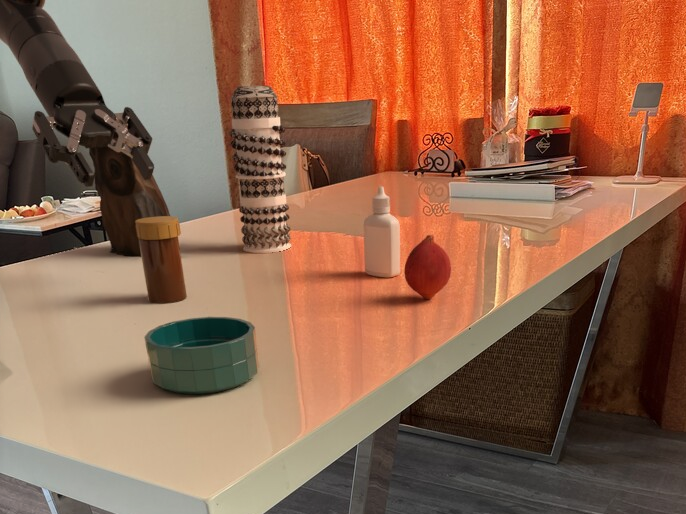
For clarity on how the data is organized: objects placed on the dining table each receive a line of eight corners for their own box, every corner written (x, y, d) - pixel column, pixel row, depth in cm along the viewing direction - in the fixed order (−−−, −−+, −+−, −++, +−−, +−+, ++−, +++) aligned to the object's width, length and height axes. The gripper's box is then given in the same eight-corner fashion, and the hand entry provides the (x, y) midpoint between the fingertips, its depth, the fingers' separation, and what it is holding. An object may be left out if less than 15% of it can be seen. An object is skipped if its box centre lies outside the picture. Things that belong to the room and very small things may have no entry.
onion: (402, 305, 89) (402, 238, 85) (406, 293, 94) (406, 230, 90) (449, 305, 88) (451, 238, 85) (450, 293, 93) (452, 229, 90)
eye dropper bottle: (373, 279, 102) (371, 189, 96) (362, 271, 106) (360, 185, 101) (402, 277, 103) (402, 187, 97) (390, 269, 107) (389, 183, 102)
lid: (185, 236, 91) (183, 219, 90) (144, 241, 89) (141, 224, 88) (172, 231, 95) (170, 214, 94) (133, 235, 93) (130, 219, 92)
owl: (155, 257, 121) (133, 126, 112) (85, 258, 123) (58, 129, 113) (181, 243, 132) (163, 123, 123) (117, 244, 134) (94, 125, 124)
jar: (146, 304, 94) (132, 226, 89) (151, 295, 98) (139, 220, 93) (184, 302, 94) (173, 224, 89) (188, 293, 98) (177, 218, 94)
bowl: (141, 399, 64) (132, 351, 62) (166, 361, 73) (158, 318, 71) (253, 395, 64) (247, 346, 62) (263, 358, 73) (259, 314, 71)
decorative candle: (276, 241, 131) (263, 86, 119) (303, 248, 125) (293, 84, 113) (231, 248, 126) (213, 87, 114) (258, 255, 120) (242, 86, 108)
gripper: (104, 102, 102) (160, 193, 101) (4, 106, 94) (64, 205, 92) (115, 57, 97) (175, 152, 95) (10, 57, 88) (74, 162, 86)
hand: (121, 178), depth 93 cm, fingers open, 8 cm apart
